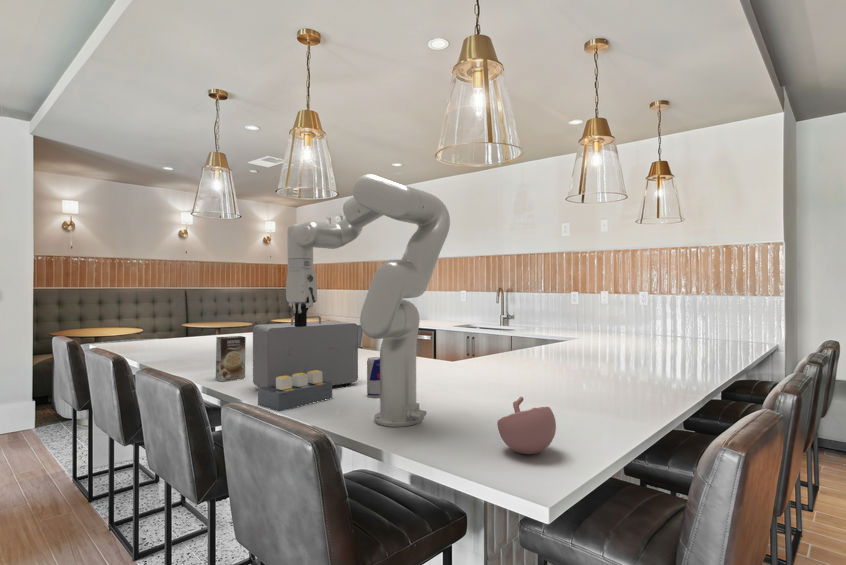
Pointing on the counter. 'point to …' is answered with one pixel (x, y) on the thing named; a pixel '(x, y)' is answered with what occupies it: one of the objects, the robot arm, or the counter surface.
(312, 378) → the switch
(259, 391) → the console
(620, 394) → the counter surface
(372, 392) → the energy drink
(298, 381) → the switch
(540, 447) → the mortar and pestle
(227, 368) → the coffee box
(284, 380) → the switch
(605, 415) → the counter surface
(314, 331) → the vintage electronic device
